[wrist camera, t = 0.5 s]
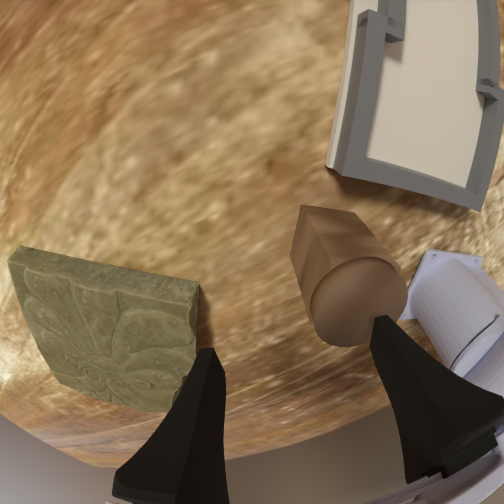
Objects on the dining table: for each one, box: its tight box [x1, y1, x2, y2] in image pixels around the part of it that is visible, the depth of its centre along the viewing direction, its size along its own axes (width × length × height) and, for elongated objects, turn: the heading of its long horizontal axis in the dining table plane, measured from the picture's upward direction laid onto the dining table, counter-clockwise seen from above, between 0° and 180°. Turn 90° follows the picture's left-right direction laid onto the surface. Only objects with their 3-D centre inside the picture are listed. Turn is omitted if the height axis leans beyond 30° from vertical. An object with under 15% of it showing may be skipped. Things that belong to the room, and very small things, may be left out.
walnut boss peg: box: [290, 205, 408, 347], centre depth 16 cm, size 5×5×8 cm
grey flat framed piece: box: [325, 0, 504, 212], centre depth 11 cm, size 14×22×2 cm, turn 173°
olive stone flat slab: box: [7, 246, 200, 413], centre depth 24 cm, size 19×20×4 cm
